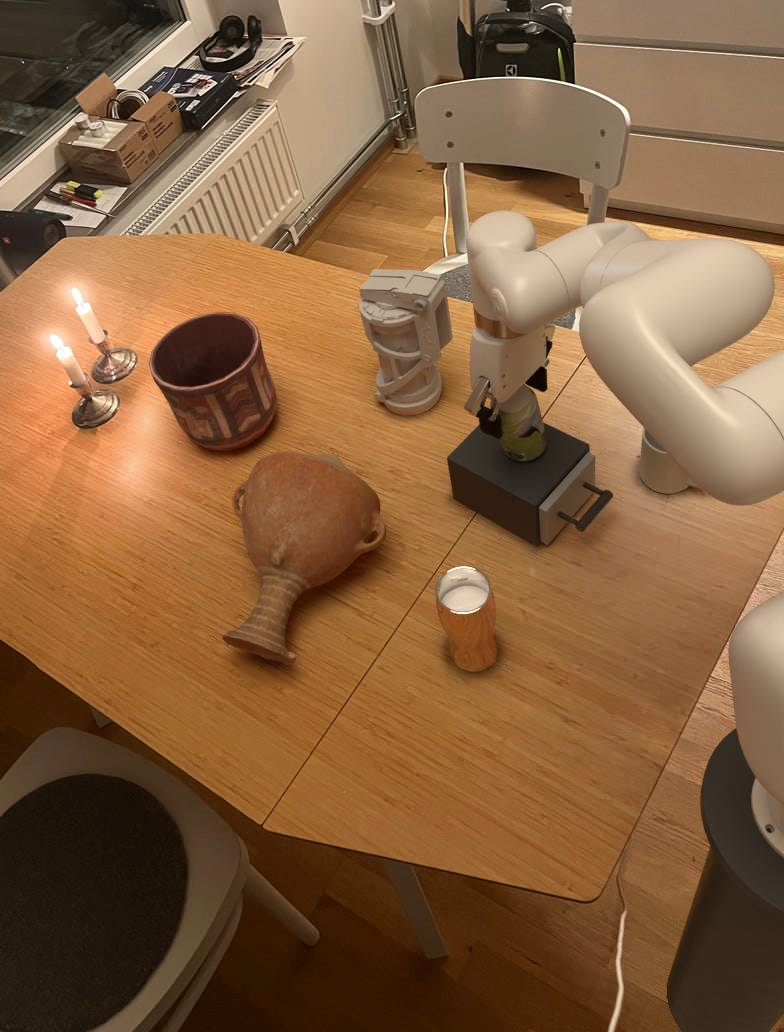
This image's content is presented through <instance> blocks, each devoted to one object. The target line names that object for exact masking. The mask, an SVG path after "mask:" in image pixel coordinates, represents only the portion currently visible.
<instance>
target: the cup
mask: <svg viewBox="0 0 784 1032" xmlns="http://www.w3.org/2000/svg"><path fill="white" fill-rule="evenodd" d="M639 477H640V478H641V481H642V482H643V483H644V485H645V486H647V487H648V488H649V489H651V490H652V491H655V492H657V493H660V494H668V495H669V494H676V493H680V492H682V491H684V490H686V489H687V488H689V487H693V488H697V489H698V488H699V487H698V486H697V485H696V484H695V483H694V482H693V481H692V480H691V479H690V478H689V477H688V476H687V475H686V474H685V473H684V472H683V471H682V470H681V468H680V467H679V466H678V465H677V464H676V463H675V462H674V461H673V459H672V458H671V457H670V456H669V455H668V454H667V453H666V452H665V450H664V449H663V448H662V447H661V446H660V445H659V444H658V443H657V442H656V440H655V439H654V438H653V437H652V436H651V435H650V434H649V433H648V432H647V430H646V429H645V428H644V427H643V428H642V434H641V446H640V459H639ZM699 489H700V488H699Z"/></svg>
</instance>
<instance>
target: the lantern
mask: <svg viewBox="0 0 784 1032" xmlns="http://www.w3.org/2000/svg"><path fill="white" fill-rule="evenodd" d="M442 275H443V274H439V273H433V272H428V271H424V270H416V269H413V270H412V269H387V268H385V269H384V268H373V270H372V271H371V272H370V273H369V275H368V278H367V279H366V281H365V282H362V284H361V286H359V288H358V289H359V290H358V291H359V296H360V297H359V300H358V310H359V314H360V318H361V321H362V327H363V331H364V334H365V336H366V339H367V340H368V341H369V343H370V345H372V348H373V351H374V352H376V353H377V357H378V361H379V366H380V368H379V369H378V371H377V374H376V376H375V383H376V387H377V390H376V392H375V394H374V396H373V397H374V400H376V401H378V402H380V403H383V404H384V406H385V407H386V408H387V409H388V410H389V411H390V412H392V413H394V414H396V415H399V416H406V417H408V416H409V417H411V416H418V415H422V414H424V413H425V412H428V411H429V410H431V409H432V408H433V407H434V406H435V405H436V404H437V403H438V402H439V400H440V397H441V393H442V389H443V380H442V379H443V378H442V375H441V373H440V372H439V370H438V369H437V368H436V365H435V364H436V363H437V362H438V361H439V359H441V357H442V351H441V350H443V349H444V348H445V347H446V346H447V345H448V344H450V343H451V342H452V340H453V339H454V335H453V328H452V320H451V315H450V308H449V300H448V291H447V285H446V281H445V280H444V279H443V278H442Z"/></svg>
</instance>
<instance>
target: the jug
mask: <svg viewBox="0 0 784 1032" xmlns="http://www.w3.org/2000/svg"><path fill="white" fill-rule="evenodd" d="M242 496H243V497H242ZM241 497H242V504H241V507H240V499H241ZM231 505H232V509H233V510H234V513H235V515H236V516H237V517H238V519H239V521H240V522H241V526H242V527H241V528H242V533H243V539H244V544H245V548H246V551H247V554H248V557H249V559H250V562H252V564H253V565H254V567H255V568H256V571H257V572H258V573H259V576H260V578H261V589H260V592H259V595H258V597H257V600H256V603H255V605H254V607H253V609H252V610H251V613H250V614H249V616H248V617H247V618H246V619H245V621H244V622H243V623H242V624H241V625H240V626H239V627H238V628H236V629H233V630H230V631H228V632H225V633H224V634H223V635H222V640H223V641H224V643H225V644H226V645H228V646H231V647H233V648H237V649H239V650H242V651H245V652H247V653H250V654H254V655H256V656H259V657H261V658H263V659H265V660H271V661H274V662H280V663H282V664H283V665H291V664H294V663H295V662H296V660H297V655H296V653H294V652H292V651H291V652H290V651H288V648H287V645H286V632H287V625H288V621H289V617H290V614H291V612H292V609H293V606H294V604H295V603H296V601H297V599H298V598H299V597H300V595H301V594H302V593H303V592H305V591H307V590H308V589H312V588H316V587H319V586H322V585H324V584H327V583H329V582H330V581H332V580H333V579H335V578H336V577H338V576H339V575H340V574H342V573H343V572H345V571H346V570H347V569H348V568H349V567H350V566H351V565H352V564H353V563H354V562H355V560H356V559H357V558H358V557H359V556H360V555H362V554H365V553H369V552H370V551H373V550H375V549H377V548H378V547H379V546H380V545H382V543H383V542H384V541H385V539H386V535H387V527H386V525H385V522H384V520H383V518H382V517H381V515H380V513H381V500H380V497H379V495H378V494H377V492H376V491H375V490H374V489H373V488H372V487H371V486H370V485H369V484H368V483H367V482H366V481H365V480H363V479H362V478H361V477H360V476H358V475H357V474H356V473H355V472H353V471H351V469H349V468H348V467H347V466H346V465H345V464H344V463H343V462H342V460H341V458H340V457H339V456H338V455H336V454H335V453H332V452H331V453H330V452H328V453H322V454H309V453H307V454H306V453H302V452H296V451H290V450H289V451H274V452H271V453H269V454H267V455H265V456H262V457H260V458H259V459H258V460H257V462H256V463H255V465H254V466H253V468H252V469H251V472H250V473H249V475H248V478H247V479H246V480H245V481H243V482H242V483H241V484H240V485H238V486H237V487H236V489H235V490H234V493H233V495H232V499H231ZM375 532H376V533H377V534H378V535H377V536H376V537H375V539H374V540H373V541H370V539H371V538H372V536H373V533H375ZM369 541H370V542H369Z"/></svg>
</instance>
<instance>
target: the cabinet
mask: <svg viewBox="0 0 784 1032" xmlns="http://www.w3.org/2000/svg"><path fill="white" fill-rule="evenodd" d="M543 424H544V428H545V432H546V436H547V445H546V448H545V450H544V451H543V452H542V454H541V455H539V456H538V457H536V458H535V459H532V460H529V461H517V460H514V459H511V458H510V457H508V456H507V455H506V454H505V452H504V450H503V447H502V444H501V441H500V439H497V438H495V437H493V436H491V435H487V434H485V433H483V432H482V430H481V429H480V425H479V424H478V425H477V426H476V427H475V428H474V429H473V430H472V431H471V432H470V433H469V434H468V435H467V436H466V437H465V438H464V439H463V440H462V442H461V443H459V445H457V446H456V447H455V448H454V450H452V452H451V453H450V454H449V455H448V456H446V462H447V468H448V475H449V478H450V479H449V480H450V487H451V492H452V498H453V500H454V501H456V502H458V503H460V504H462V505H463V506H465V507H467V508H468V509H470V510H472V511H473V512H475V513H477V514H479V515H480V516H482V517H484V518H486V519H488V520H490V521H491V522H492V523H495V524H496V525H498V526H500V527H501V528H503V529H505V530H506V531H508V532H510V533H512V534H513V535H515V536H517V537H518V538H520V539H522V540H524V541H526V542H527V543H529V544H531V545H532V546H535V547H536V548H538V547H540V545H541V544H542V542H541V541H540V526H539V508H538V505H539V504H540V503H541V502H542V501H543V500H544V499H545V498H546V496H547V495H548V494H549V493H550V492H551V491H552V490H553V489H554V487H555V486H556V485H557V484H558V483H559V482H560V481H561V480H562V479H563V477H564V476H565V475H566V474H567V473H568V472H569V471H570V470H571V468H572V467H573V466H574V465H575V464H576V465H577V464H578V463H579V462H580V461H581V459H582V458H583V457H584V456H585V455H586V454H587V453H588V452H589V453H591V449H590V448H591V447H590V445H591V444H589V443H587V442H585V441H584V440H581V439H580V438H577V437H575V436H573V435H570V434H568V433H566V432H564V431H562V430H560V429H558V428H556V427H554V426H552V425H550V424H548V423H546V422H544V421H543Z"/></svg>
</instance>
